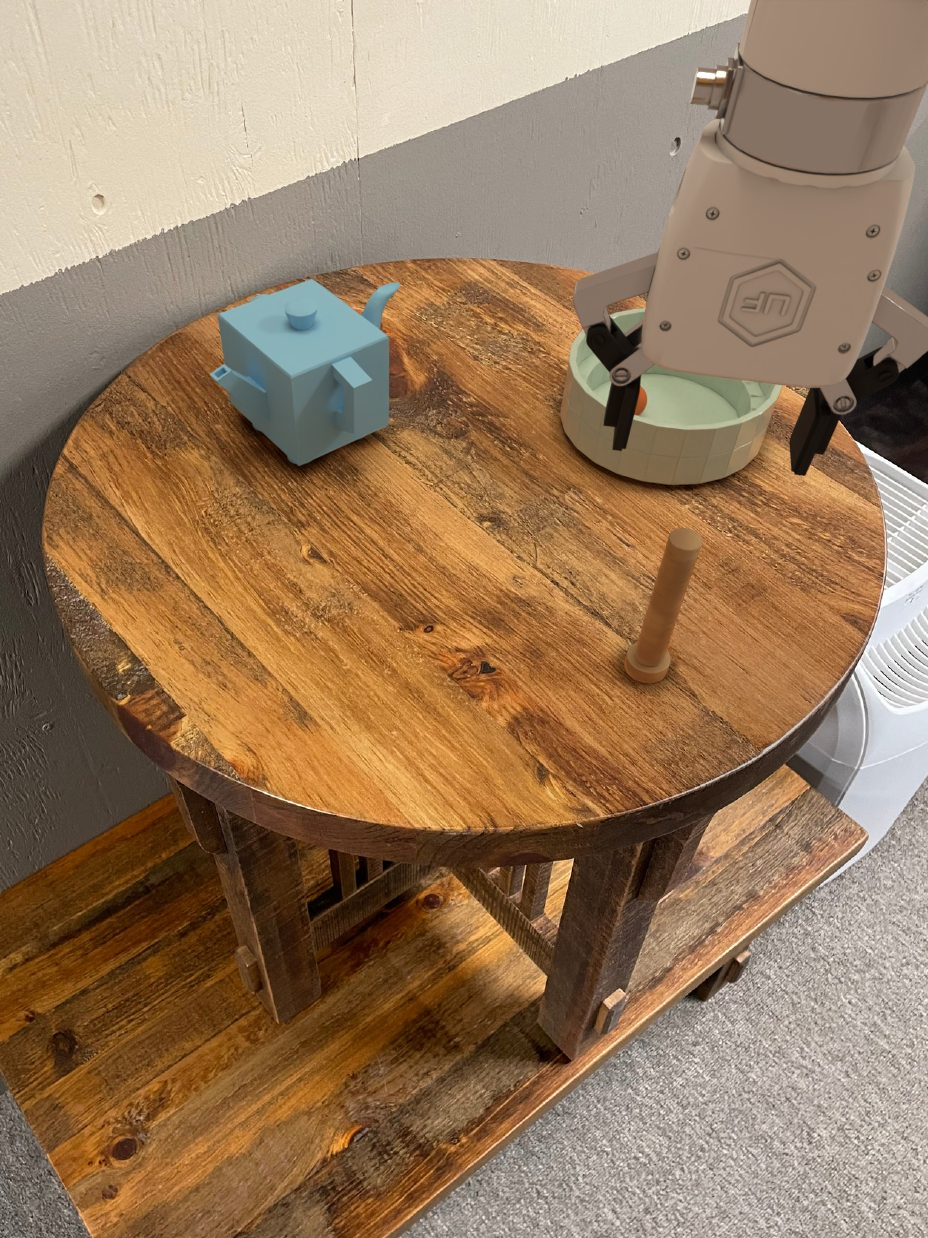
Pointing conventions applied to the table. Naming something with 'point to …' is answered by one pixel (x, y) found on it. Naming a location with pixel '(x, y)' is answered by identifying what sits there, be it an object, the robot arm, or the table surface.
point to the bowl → (667, 419)
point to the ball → (641, 402)
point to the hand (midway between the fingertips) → (707, 447)
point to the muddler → (664, 608)
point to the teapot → (307, 367)
